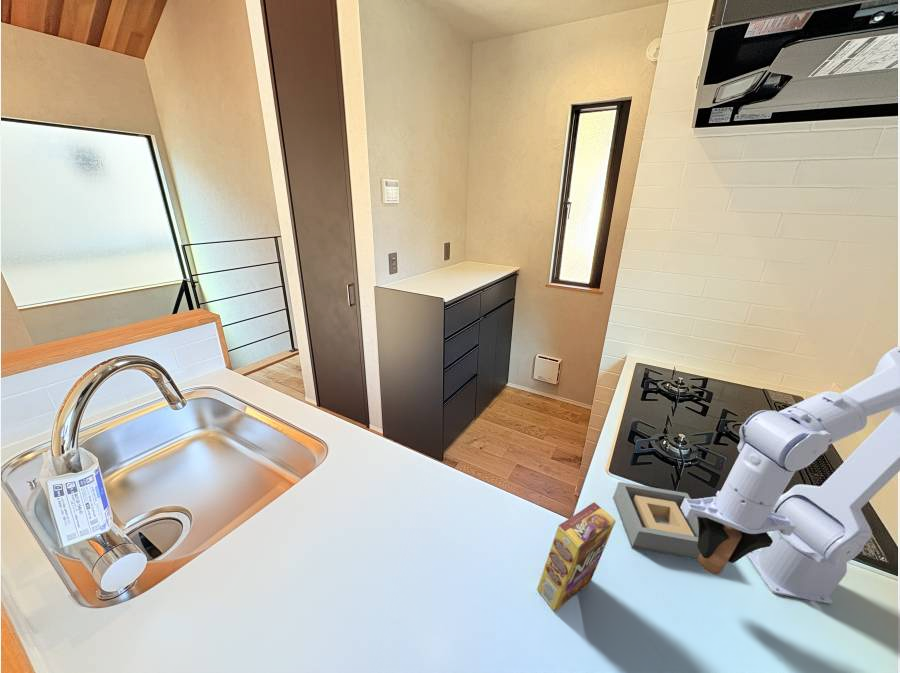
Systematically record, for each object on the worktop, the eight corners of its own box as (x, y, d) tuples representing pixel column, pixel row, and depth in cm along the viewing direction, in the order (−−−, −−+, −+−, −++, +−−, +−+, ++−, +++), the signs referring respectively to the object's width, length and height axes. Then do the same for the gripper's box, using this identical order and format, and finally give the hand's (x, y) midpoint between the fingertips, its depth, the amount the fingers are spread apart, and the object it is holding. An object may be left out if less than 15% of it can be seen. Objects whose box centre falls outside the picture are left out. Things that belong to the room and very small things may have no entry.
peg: (714, 557, 58) (733, 522, 55) (725, 576, 55) (746, 540, 52) (693, 553, 58) (712, 518, 55) (704, 572, 55) (723, 536, 52)
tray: (680, 508, 76) (687, 493, 74) (710, 562, 65) (719, 545, 63) (613, 497, 77) (618, 481, 75) (631, 548, 66) (638, 531, 64)
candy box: (556, 616, 54) (579, 547, 48) (535, 590, 57) (555, 523, 52) (592, 585, 59) (617, 519, 53) (571, 563, 62) (592, 499, 56)
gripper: (784, 477, 54) (747, 540, 59) (684, 461, 55) (657, 524, 60) (823, 516, 47) (778, 583, 52) (709, 497, 48) (675, 564, 54)
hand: (715, 554), depth 56 cm, fingers closed on peg, 3 cm apart
